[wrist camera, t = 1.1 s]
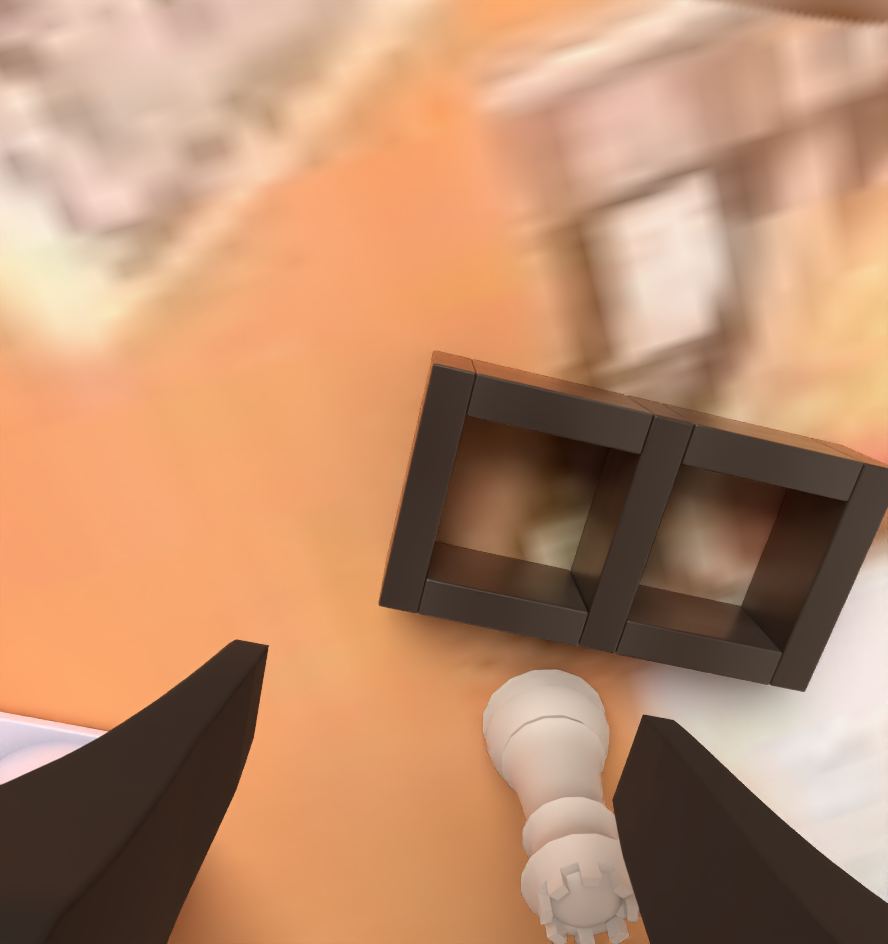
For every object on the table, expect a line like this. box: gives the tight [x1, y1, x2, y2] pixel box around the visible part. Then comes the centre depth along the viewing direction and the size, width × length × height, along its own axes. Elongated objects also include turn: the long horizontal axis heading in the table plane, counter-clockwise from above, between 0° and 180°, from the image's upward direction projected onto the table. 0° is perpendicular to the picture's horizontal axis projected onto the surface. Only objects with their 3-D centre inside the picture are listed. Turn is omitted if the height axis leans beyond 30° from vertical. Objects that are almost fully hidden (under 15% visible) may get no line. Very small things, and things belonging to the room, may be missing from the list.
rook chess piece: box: [483, 669, 639, 944], centre depth 21 cm, size 4×4×8 cm
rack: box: [379, 351, 888, 692], centre depth 21 cm, size 14×7×3 cm, turn 77°
